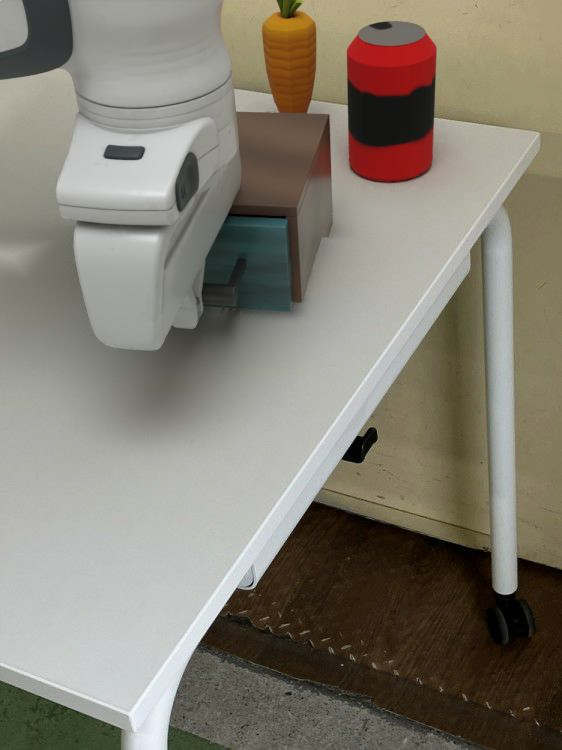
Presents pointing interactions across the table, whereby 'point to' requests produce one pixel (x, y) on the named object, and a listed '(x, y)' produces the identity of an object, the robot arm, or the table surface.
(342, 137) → the table surface
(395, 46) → the soda can
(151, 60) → the robot arm
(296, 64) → the carrot
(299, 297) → the cabinet
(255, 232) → the drawer
